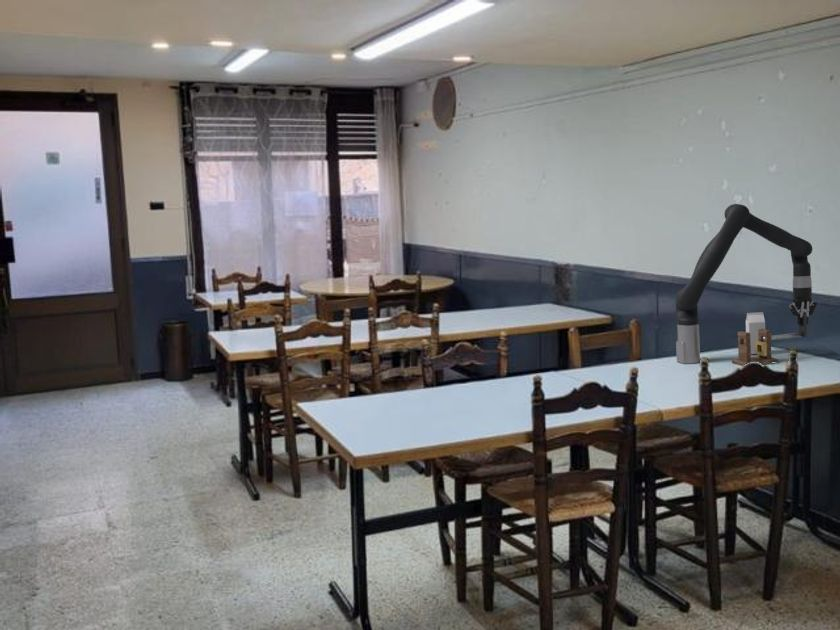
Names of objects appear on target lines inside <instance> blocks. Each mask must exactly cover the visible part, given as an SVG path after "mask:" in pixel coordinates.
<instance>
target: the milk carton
mask: <svg viewBox="0 0 840 630" xmlns="http://www.w3.org/2000/svg"><path fill="white" fill-rule="evenodd" d="M765 320H766V319H765V316H764V312H763V311H760V312H759V311H758V312H747V313H746V318H745V332H748V333H750V345H751V354H755V341H756V340H758V329H766V321H765Z"/></svg>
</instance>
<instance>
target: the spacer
mask: <svg viewBox="0 0 840 630" xmlns="http://www.w3.org/2000/svg"><path fill="white" fill-rule="evenodd" d="M760 345H761V348H762V351H760ZM755 354H757V356H759V355H761V356H767V342H764V341H759V340H756V341H755Z"/></svg>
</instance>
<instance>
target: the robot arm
mask: <svg viewBox="0 0 840 630" xmlns="http://www.w3.org/2000/svg"><path fill="white" fill-rule="evenodd" d="M724 219H725V221H724V222H723V224H722V226H721V228H720V230H719V231H718V232H717V234H715V236H714V237H713V238H712V239H711V240H710V241H709V242H708V243H707V245H706V246H705V248H704V249H703V251H702V253H701V254H700V256H699V258H698V260H697V262H696V264H695V268H694V270H693V273H692V275H691V278H690V279H689V281H688V282H687V283H686V285H685V286H684V287H682V288H681V289H679V291H677V293H676V295H675V312H676V313H675V314H676V315H675V317H676V327H677V340H676V341H675V349H676V353H675V354H676V362H677V363H680V364H683V365H684V364H698V363H700V362H701V350H700V349H701V348H700V347H701V346H700V344H701V343H700V323H699V320H700V319H699V313H698V311H699V310H698V303H700V302H699V301H700V299H701V297H702V295H703V293H704V290H706V289H705V288H706V287H707V284H708V283H709V282H710V281H711V280H712V278H713V276H714V275H715V274H716V273H717V271H718V269H719V268H720V266H721V264H722V263H723V261H724V259H725V258H726V256H727V254H728V253H729V251H730V248H731V247H732V245H733V243H734V240H735V239H736V238H737V236H738V235H739V233H740V232H742V231H741V230H742V229H743V228H744V229H747V230H748V231H751V232H752V233H755V234H757V235H758V236H760V237H762V238H764V239H765V240H766V241H769V242H770V243H772V244H774V245H775V246H778V247H779V248H780V247H781V248H782V249H786V250H788V251H789V252H790V257H791V263H792V266H793V267H792V297H793V300H792V303H789V304H787V307H788V309H789V310H790V312H791V313H792V316H793V317H796V318H797V320H796V321H797V325H798V327H799V326H803V314H807V325H808V324H809V316H812V315H813V313H814V311H815V310H816V307H817V305H818V302H815V301H814V300H813V299H812V296H813V294H812V293H813V289H812V288H813V287H812V286H813V285H812V282H813V281H812V272H811V271H812V270H811V269H812V267H811V263H810V262H809V260H808V258H809V257H808V256H810V255H811V254H812V252H813V245H812V244H811V243H810V242H809V241H807V240H806V239H803V238H801V237H799V236H796V235H794V234H792V233H790V232H789V231H787V230H785V229H783V228H781V227H779V226H777V225H775V224H772V223H770V222H767V221H765V220H762V219H761V218H759V217H757V216H756V215H753V214H752V213H751V212H750V209H749V208H748V207H747V206H746V205H743V204H741V203H734V204H730V205H729V206H727V207H726V209H725V210H724Z"/></svg>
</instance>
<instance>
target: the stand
mask: <svg viewBox="0 0 840 630" xmlns="http://www.w3.org/2000/svg"><path fill="white" fill-rule="evenodd" d="M771 330H772V329H771ZM771 330H770V329H766V328H765V329H758V340H759V341H762V337H764V342H767V356H761V355H757V356H752V355H751V345H750V333H748V332H746V331H742V330H741V331H737V346H738V347H737V349H738V350H737V352H738V353H737V354H738V355H737V356H738V358H737V359H736V358H734V359H731V364H734V365H738V366H741V367H744V366H743V365H745V364H747V363H750V362H759V363H761V364H763V365H769V364H768V363H771V364H773V363H772V362H779V360H780V359H779V358H775V357H772V340H771V336H772V332H771ZM760 351H762V348H761V345H760ZM779 363H780V362H779Z"/></svg>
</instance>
